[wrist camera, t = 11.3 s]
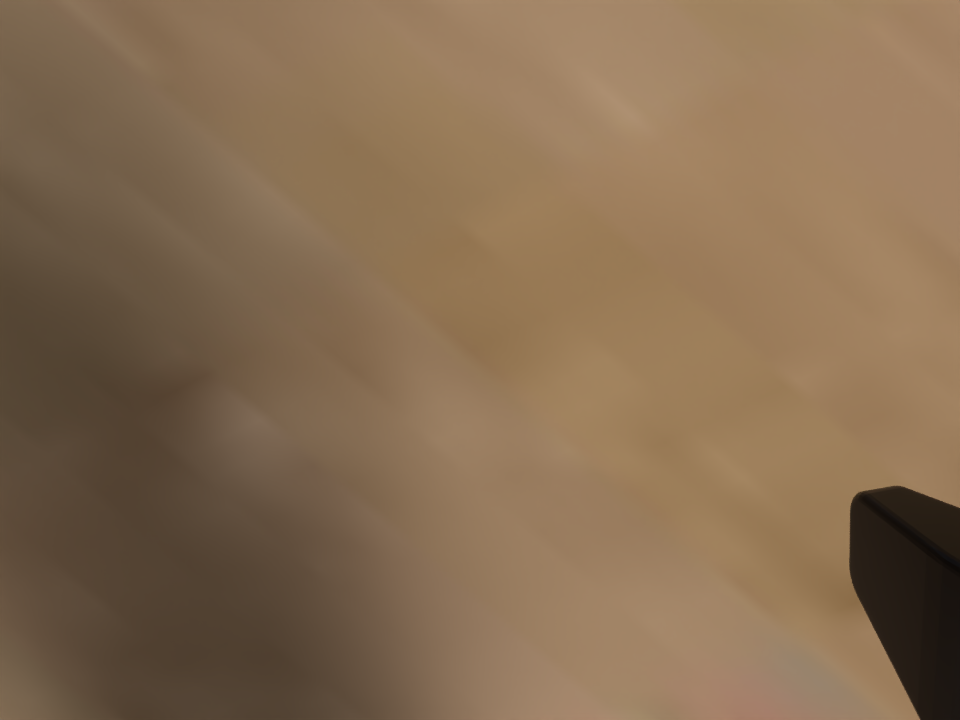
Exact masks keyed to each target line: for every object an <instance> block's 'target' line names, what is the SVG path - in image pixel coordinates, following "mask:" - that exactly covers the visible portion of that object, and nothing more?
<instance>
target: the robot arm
mask: <svg viewBox="0 0 960 720" xmlns="http://www.w3.org/2000/svg"><path fill="white" fill-rule="evenodd" d="M849 566H850V575H851V579H852V583H853V586H854V589H855V592H856V594H857V596H858V598H859V600H860V602H861V604H862V606H863V608H864V610H865V612H866V614H867V616H868V618H869V620H870V622H871V624H872V625H873V627H874V629H875V631H876V633H877V635H878V637H879V639H880V641H881V643H882V645H883V647H884V649H885V651H886V653H887V655H888V657H889V659H890V661H891V663H892V665H893V667H894V669H895V671H896V673H897V675H898V677H899V679H900V681H901V683H902V685H903V687H904V689H905V691H906V693H907V695H908V697H909V698H910V700H911V702H912V704H913V706H914V708H915V710H916V712H917V714H918V716H919V718H920V720H960V508H958V507H956V506H953V505H950V504H948V503H945V502H942V501H940V500H937V499H934V498H932V497H929V496H926V495H924V494H921V493H919V492H916V491H913V490H911V489H908V488H905V487H902V486H890V487H885V488H879V489H874V490H868V491H862V492H859V493H858V494H857V495H856V496H855V497H854V498H853V500H852V503H851V508H850V558H849Z"/></svg>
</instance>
